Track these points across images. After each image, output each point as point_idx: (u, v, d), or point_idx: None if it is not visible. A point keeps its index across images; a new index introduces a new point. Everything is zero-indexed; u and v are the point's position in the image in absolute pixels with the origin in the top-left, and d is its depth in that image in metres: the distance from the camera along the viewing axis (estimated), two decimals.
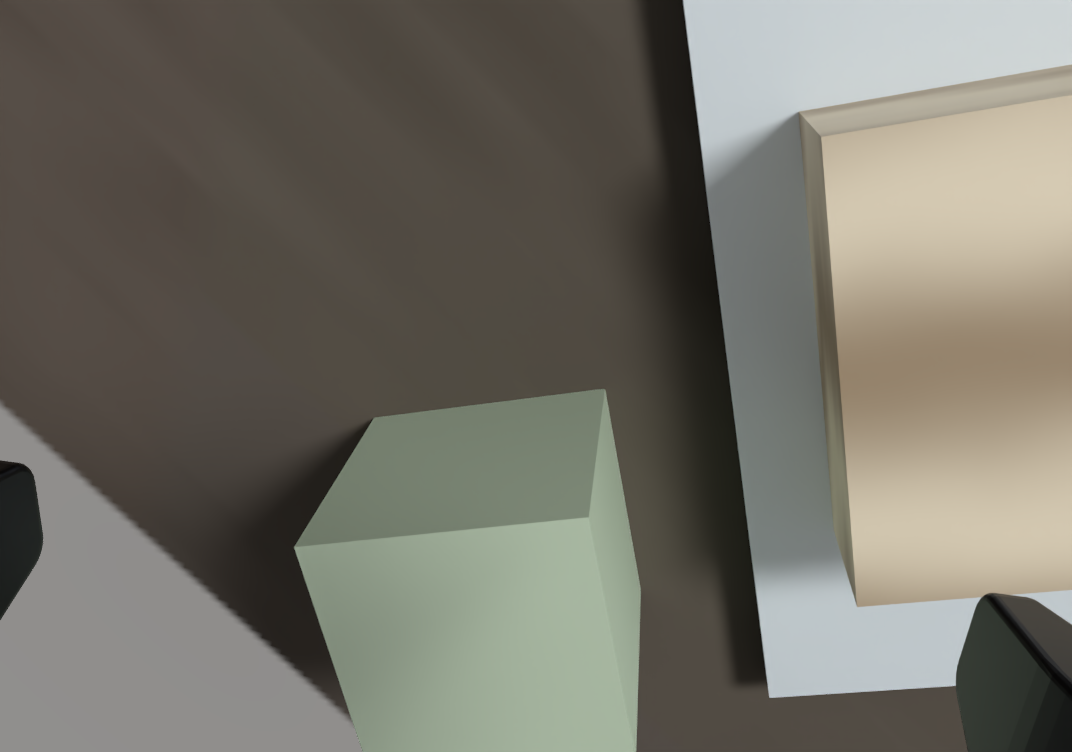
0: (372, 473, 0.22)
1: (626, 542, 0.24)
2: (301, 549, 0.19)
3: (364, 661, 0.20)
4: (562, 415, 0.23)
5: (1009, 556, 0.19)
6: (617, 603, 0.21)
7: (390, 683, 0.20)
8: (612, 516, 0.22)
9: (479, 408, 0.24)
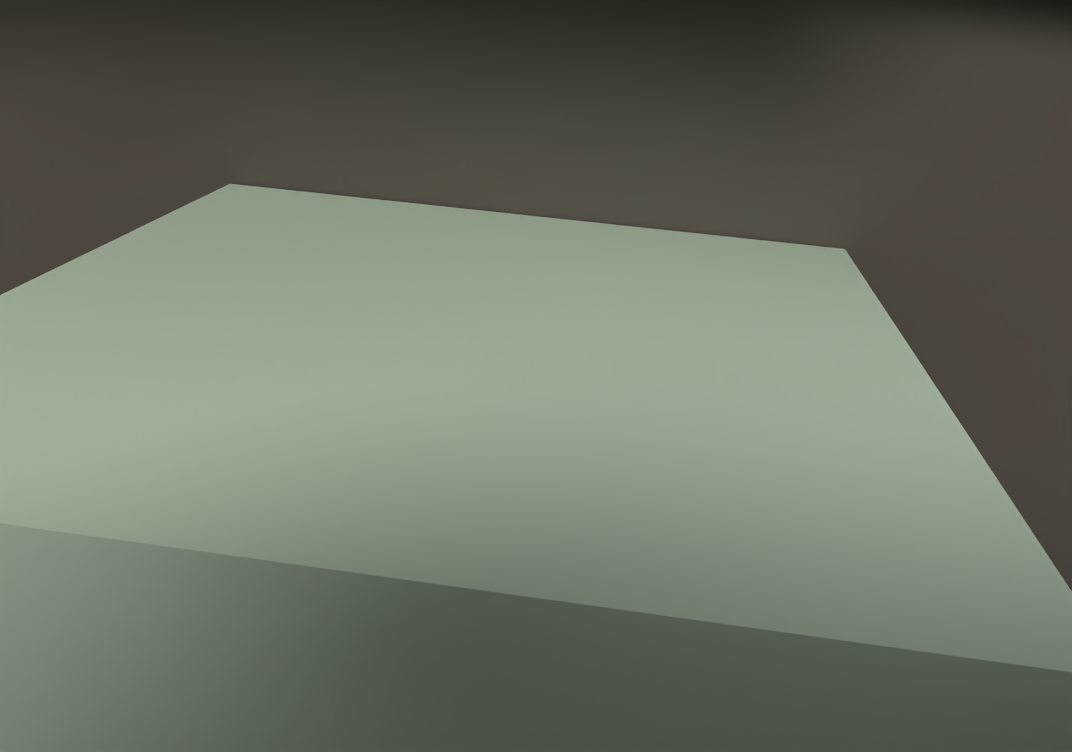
0: None
1: (593, 258, 0.08)
2: None
3: None
4: None
5: None
6: (440, 413, 0.05)
7: None
8: (331, 293, 0.07)
9: None
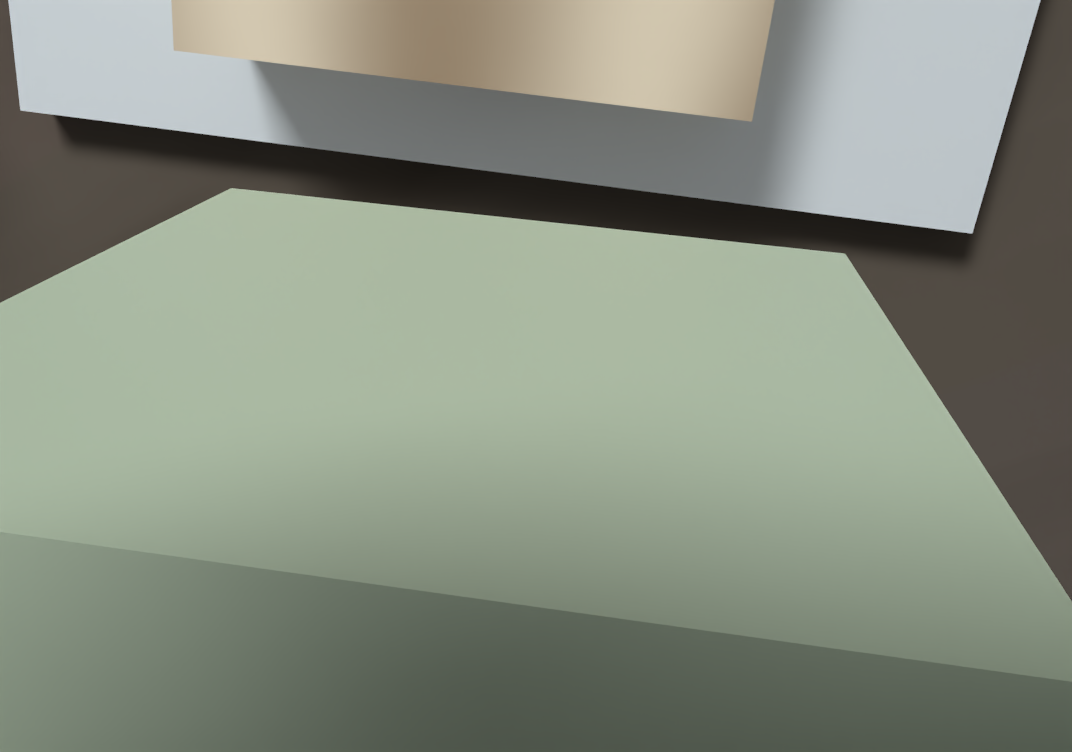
0: None
1: (594, 263, 0.08)
2: None
3: None
4: None
5: None
6: (441, 420, 0.05)
7: None
8: (332, 299, 0.07)
9: None
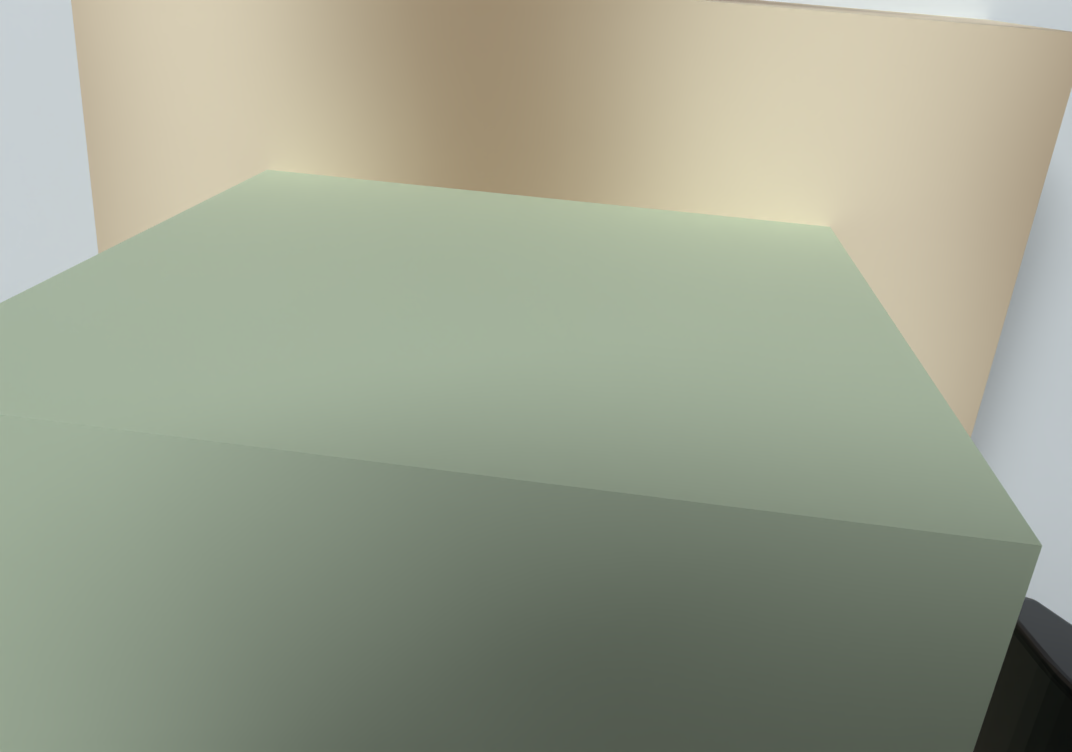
0: None
1: (601, 233, 0.09)
2: None
3: None
4: None
5: None
6: (475, 354, 0.06)
7: None
8: (371, 260, 0.08)
9: None
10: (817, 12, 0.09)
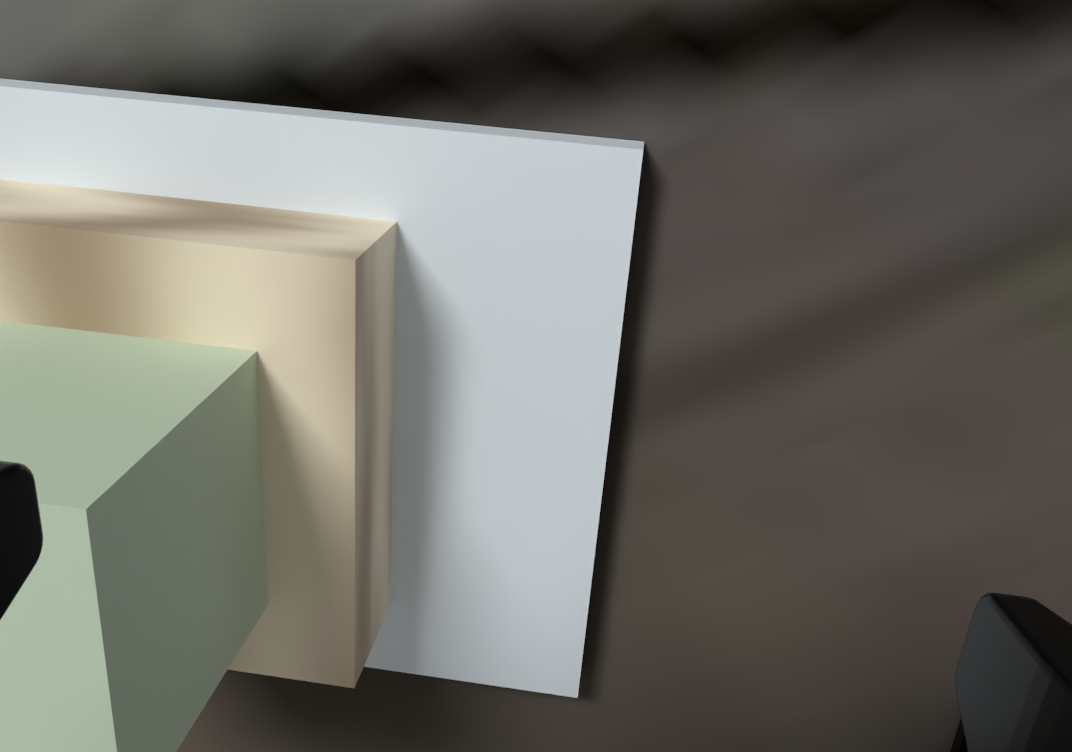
0: None
1: (110, 361, 0.18)
2: None
3: None
4: None
5: (311, 569, 0.20)
6: None
7: None
8: None
9: None
10: (225, 246, 0.18)
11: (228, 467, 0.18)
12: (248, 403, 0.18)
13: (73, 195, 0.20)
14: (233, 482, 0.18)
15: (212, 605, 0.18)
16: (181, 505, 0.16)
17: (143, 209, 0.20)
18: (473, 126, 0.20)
